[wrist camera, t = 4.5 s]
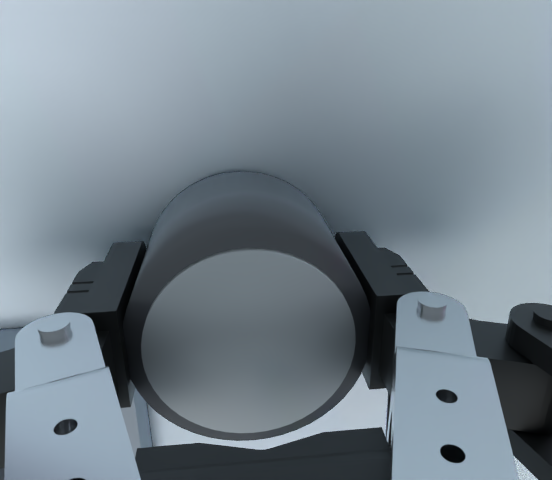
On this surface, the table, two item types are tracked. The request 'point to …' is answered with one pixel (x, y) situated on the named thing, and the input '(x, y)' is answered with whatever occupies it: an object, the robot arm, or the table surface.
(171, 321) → the cap
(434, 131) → the table surface
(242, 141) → the table surface
